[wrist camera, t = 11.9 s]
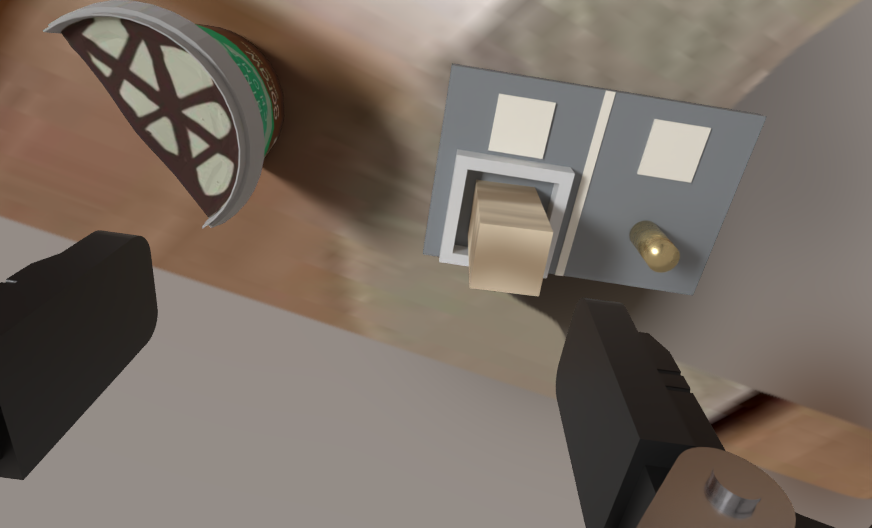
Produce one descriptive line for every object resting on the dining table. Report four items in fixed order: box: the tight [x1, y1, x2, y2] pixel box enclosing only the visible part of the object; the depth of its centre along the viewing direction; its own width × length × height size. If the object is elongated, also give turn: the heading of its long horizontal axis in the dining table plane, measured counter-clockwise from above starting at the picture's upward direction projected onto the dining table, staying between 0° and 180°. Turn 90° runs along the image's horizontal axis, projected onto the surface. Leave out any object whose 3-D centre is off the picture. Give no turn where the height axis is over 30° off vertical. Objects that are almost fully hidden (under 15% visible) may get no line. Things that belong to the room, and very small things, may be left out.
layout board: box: [423, 64, 766, 295], centre depth 36 cm, size 13×20×2 cm, turn 81°
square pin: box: [468, 180, 553, 296], centre depth 34 cm, size 4×4×8 cm
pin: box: [629, 221, 680, 273], centre depth 36 cm, size 2×2×4 cm
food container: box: [43, 0, 284, 228], centre depth 31 cm, size 12×6×10 cm, turn 30°
